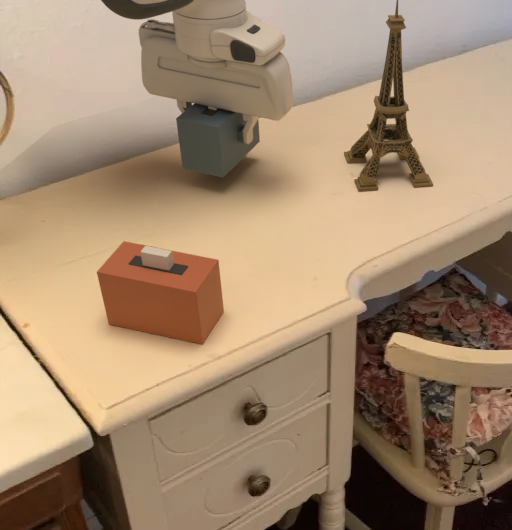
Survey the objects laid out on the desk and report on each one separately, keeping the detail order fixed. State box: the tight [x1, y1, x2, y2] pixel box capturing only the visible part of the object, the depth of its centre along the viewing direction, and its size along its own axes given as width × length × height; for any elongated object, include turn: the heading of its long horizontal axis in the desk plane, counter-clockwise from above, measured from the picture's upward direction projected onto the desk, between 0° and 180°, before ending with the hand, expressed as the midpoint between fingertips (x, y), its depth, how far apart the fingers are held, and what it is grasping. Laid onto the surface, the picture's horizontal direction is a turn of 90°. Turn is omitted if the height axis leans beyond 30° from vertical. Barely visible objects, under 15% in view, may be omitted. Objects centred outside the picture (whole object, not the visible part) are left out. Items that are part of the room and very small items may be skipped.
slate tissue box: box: [175, 103, 261, 179], centre depth 111 cm, size 11×6×9 cm, turn 160°
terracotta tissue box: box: [96, 240, 225, 345], centre depth 89 cm, size 11×6×9 cm, turn 76°
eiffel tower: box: [343, 0, 434, 192], centre depth 109 cm, size 11×11×25 cm
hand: (221, 136), depth 112 cm, fingers closed on slate tissue box, 6 cm apart
